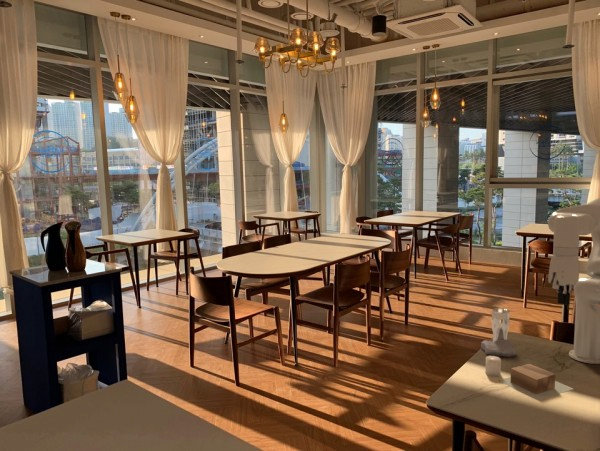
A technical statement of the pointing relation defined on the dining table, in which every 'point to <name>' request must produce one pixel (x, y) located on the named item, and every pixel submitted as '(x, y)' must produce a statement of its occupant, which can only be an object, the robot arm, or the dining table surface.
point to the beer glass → (500, 323)
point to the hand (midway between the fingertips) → (563, 303)
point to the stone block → (498, 348)
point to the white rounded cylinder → (493, 366)
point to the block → (533, 378)
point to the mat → (558, 389)
